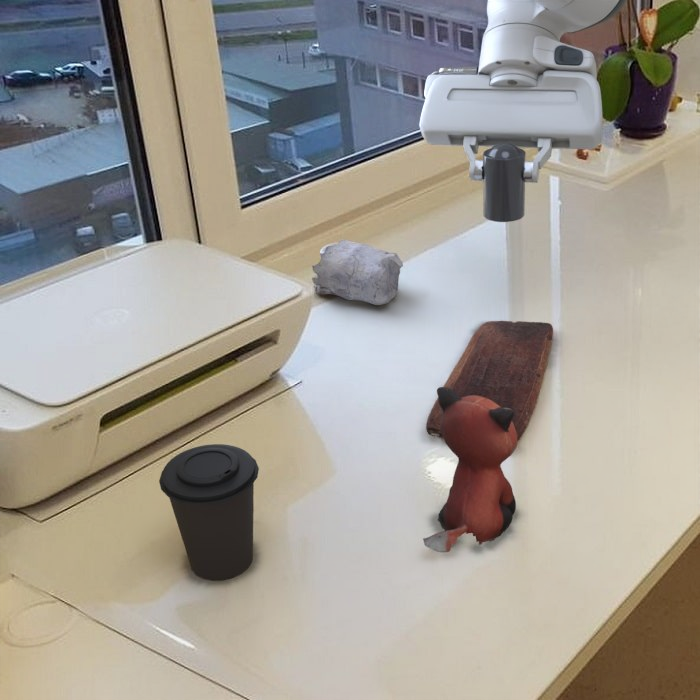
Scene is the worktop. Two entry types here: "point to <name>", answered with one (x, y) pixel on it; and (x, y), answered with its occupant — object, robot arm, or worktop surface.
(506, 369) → the wooden tablet
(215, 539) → the coffee cup
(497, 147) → the dome-topped grey canister
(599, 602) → the worktop surface
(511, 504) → the stuffed fox
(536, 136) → the robot arm
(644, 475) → the worktop surface
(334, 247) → the stone
